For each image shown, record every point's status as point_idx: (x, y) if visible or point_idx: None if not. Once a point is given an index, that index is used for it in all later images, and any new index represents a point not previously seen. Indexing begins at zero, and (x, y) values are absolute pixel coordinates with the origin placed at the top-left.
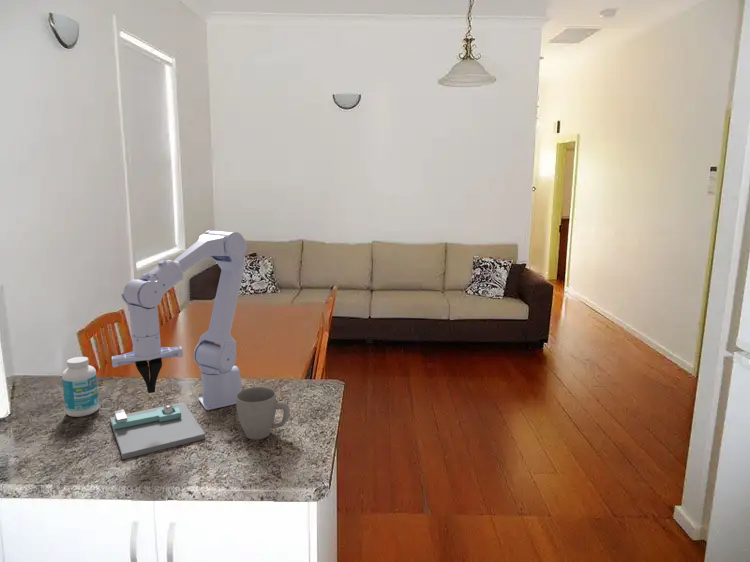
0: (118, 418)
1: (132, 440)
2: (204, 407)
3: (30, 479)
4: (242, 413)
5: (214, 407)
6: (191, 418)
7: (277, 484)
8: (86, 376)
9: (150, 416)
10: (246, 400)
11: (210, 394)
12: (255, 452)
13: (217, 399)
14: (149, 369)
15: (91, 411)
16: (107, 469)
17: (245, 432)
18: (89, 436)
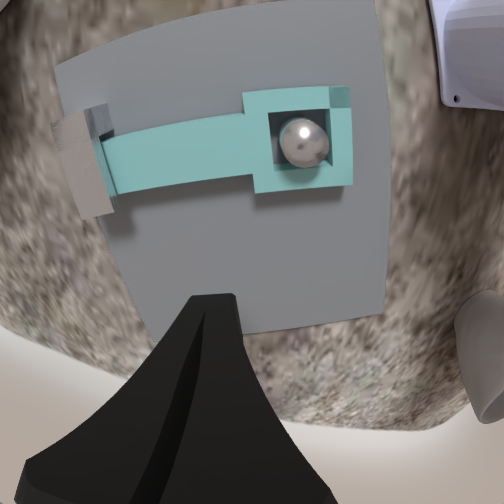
0: (82, 209)
1: (164, 285)
2: (441, 79)
3: (14, 325)
4: (467, 392)
5: (469, 107)
6: (380, 191)
7: (401, 428)
8: None
9: (214, 172)
10: None
11: (495, 93)
12: (430, 371)
13: (497, 104)
14: (191, 425)
15: (4, 2)
16: (134, 352)
17: (456, 334)
18: (28, 167)
